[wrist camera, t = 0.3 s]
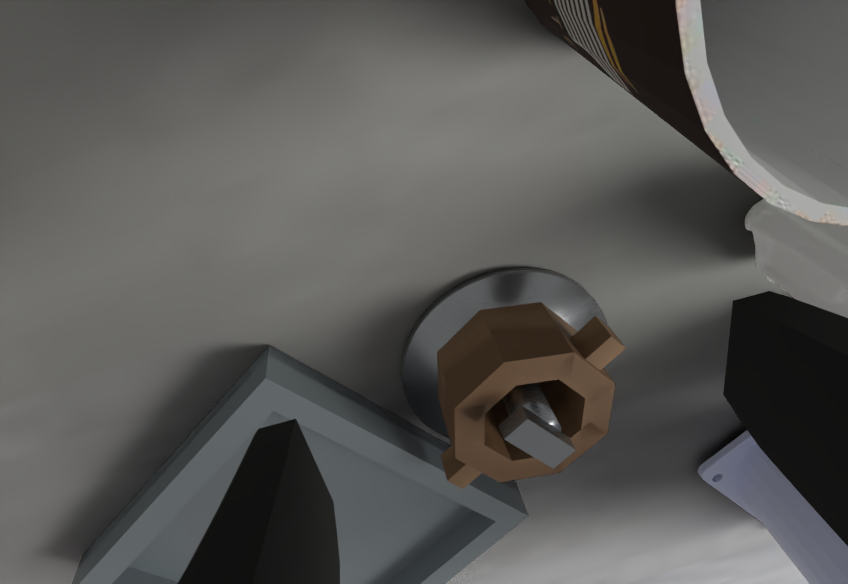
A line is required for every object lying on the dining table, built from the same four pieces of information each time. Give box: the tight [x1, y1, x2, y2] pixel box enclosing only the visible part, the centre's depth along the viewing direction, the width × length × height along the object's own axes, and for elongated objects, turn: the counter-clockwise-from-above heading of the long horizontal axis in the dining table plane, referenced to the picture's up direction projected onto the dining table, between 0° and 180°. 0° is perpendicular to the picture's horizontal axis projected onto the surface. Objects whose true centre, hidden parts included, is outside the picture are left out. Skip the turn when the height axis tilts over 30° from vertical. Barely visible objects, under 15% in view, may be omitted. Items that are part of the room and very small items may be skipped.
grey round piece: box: [402, 267, 607, 469], centre depth 20 cm, size 8×8×5 cm
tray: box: [72, 345, 528, 584], centre depth 24 cm, size 13×13×2 cm
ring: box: [437, 302, 626, 489], centre depth 20 cm, size 5×8×3 cm
